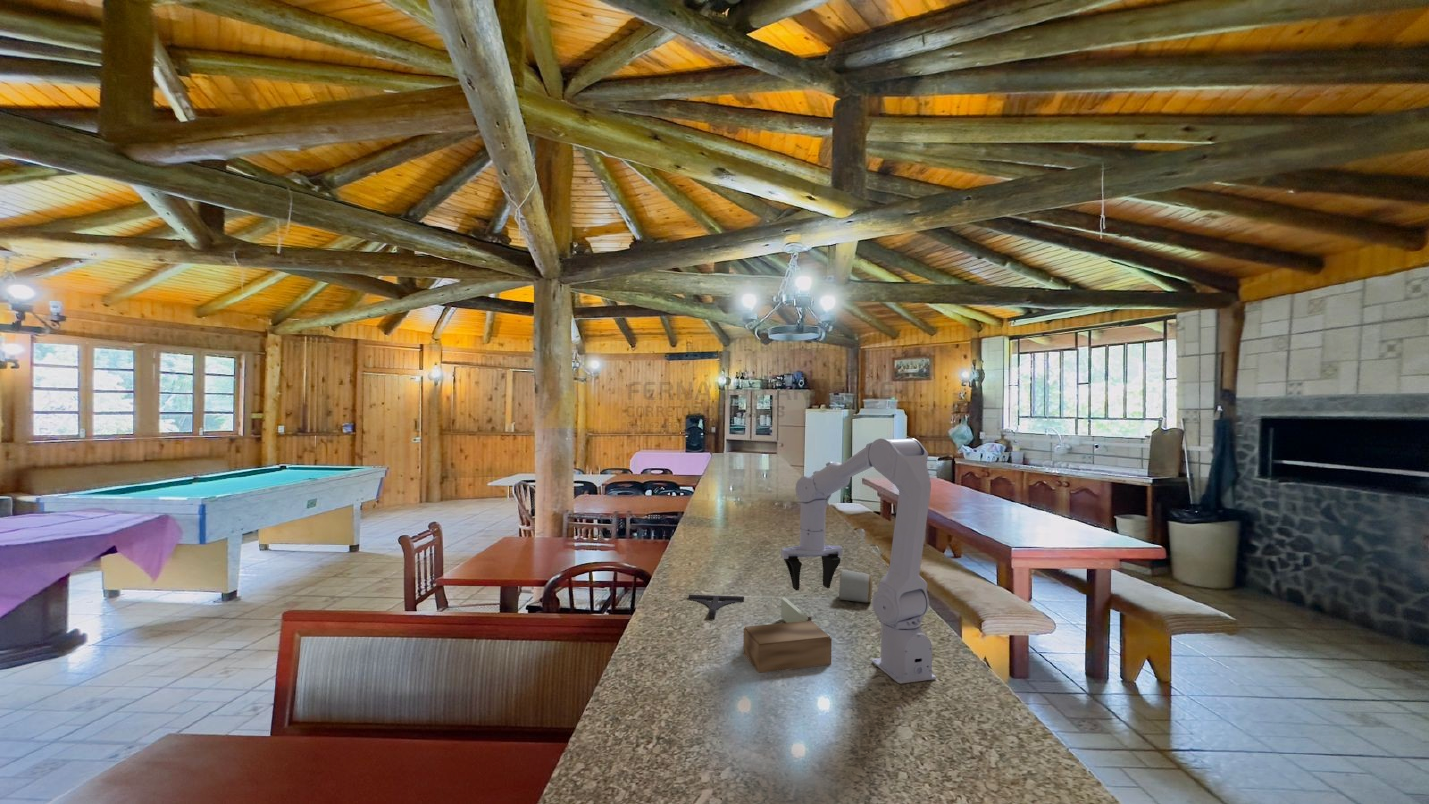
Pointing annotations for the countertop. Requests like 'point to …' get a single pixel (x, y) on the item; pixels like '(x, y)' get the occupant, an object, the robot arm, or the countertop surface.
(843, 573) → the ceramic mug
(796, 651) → the cabinet
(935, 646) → the countertop surface
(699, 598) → the bracket
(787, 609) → the door
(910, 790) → the countertop surface
